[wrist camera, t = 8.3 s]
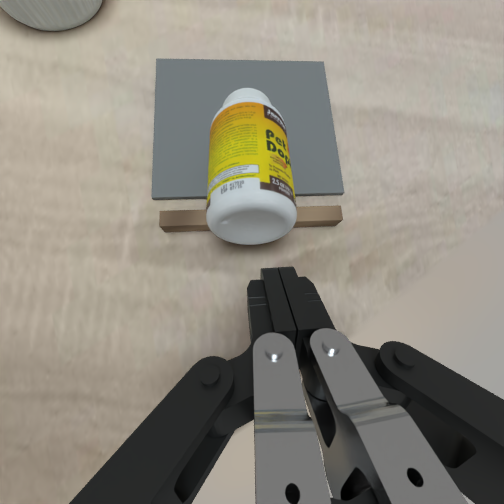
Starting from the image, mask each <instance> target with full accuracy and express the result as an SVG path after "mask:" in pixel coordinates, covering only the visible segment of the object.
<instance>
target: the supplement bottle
mask: <svg viewBox="0 0 504 504" xmlns="http://www.w3.org/2000/svg"><path fill="white" fill-rule="evenodd" d="M296 219H297V209H296V201H295V192H294V185H293V178H292V170H291V163H290V155H289V148H288V140H287V133H286V127H285V123H284V120H283V118H282V116H281V114H280V113H279V112H278V110H277V109H276V108H275V107H273V106H272V105H271V103H270V101H269V99H268V97H267V96H266V95H265V94H264V93H262V92H261V91H259V90H256V89H253V88H242V89H238V90H236V91H234V92H233V93H231V94H230V95H229V96H228V97H227V98H226V100H225V102H224V104H223V107H222V108H221V109H220V110H219V111H218V112H217V114H216V115H215V117H214V119H213V121H212V124H211V129H210V143H209V165H208V190H207V208H206V220H207V224H208V226H209V228H210V230H211V231H212V232H213V233H214V234H215V235H216V236H218V237H219V238H221V239H223V240H225V241H228V242H232V243H236V244H245V245H255V244H263V243H267V242H271V241H274V240H277V239H279V238H281V237H283V236H284V235H286V234H287V233H288V232H289V231H290V230H291V229H292V228H293V226H294V224H295V222H296Z"/></svg>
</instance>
